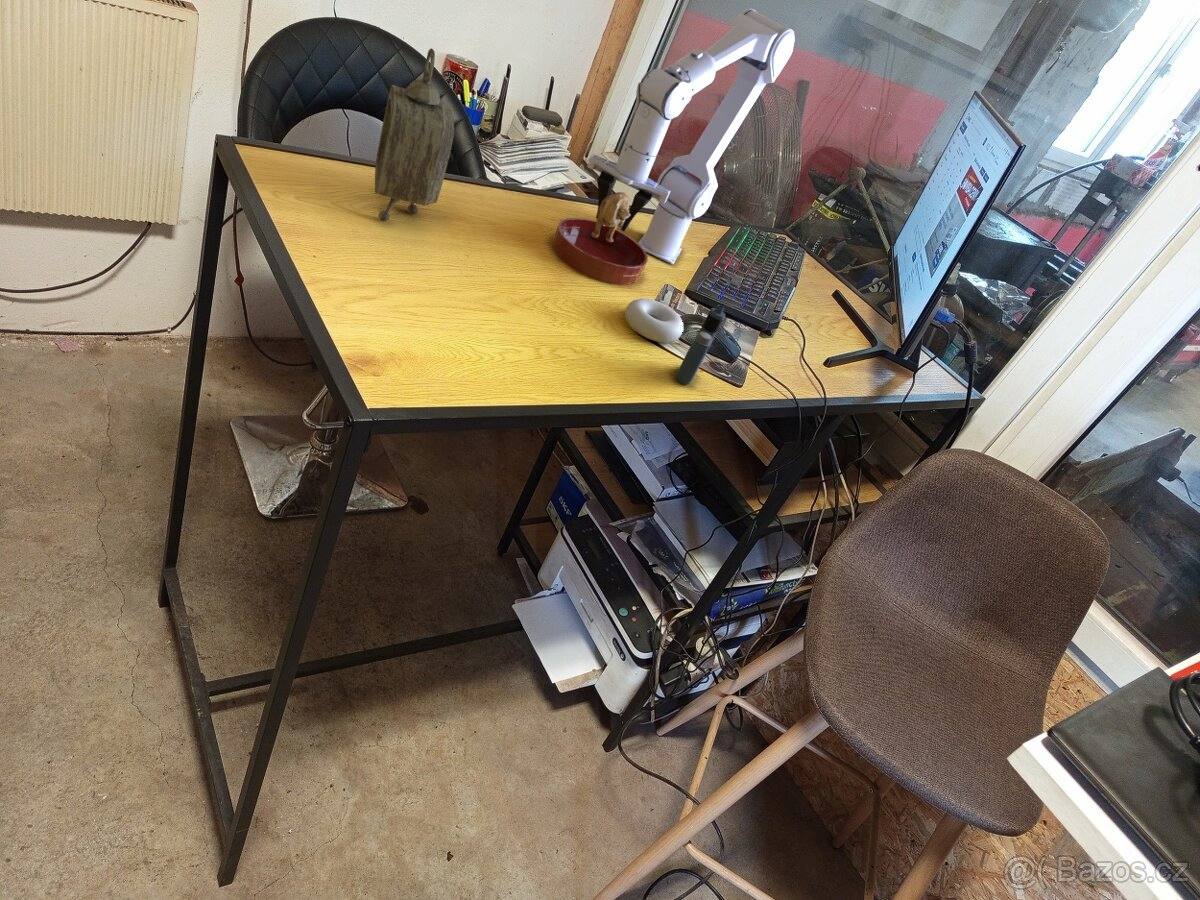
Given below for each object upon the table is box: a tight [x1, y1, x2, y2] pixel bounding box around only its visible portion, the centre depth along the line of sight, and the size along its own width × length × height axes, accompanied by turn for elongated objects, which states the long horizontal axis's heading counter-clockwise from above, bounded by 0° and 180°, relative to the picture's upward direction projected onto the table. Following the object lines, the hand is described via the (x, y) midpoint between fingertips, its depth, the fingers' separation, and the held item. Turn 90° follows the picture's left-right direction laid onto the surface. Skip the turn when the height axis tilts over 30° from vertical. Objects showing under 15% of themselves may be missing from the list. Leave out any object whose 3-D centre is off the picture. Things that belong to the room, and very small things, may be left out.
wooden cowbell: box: [374, 48, 455, 222], centre depth 118 cm, size 14×9×25 cm, turn 14°
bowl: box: [551, 217, 649, 286], centre depth 138 cm, size 17×17×4 cm
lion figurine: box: [591, 191, 631, 242], centre depth 134 cm, size 15×5×9 cm, turn 173°
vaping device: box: [675, 304, 726, 386], centre depth 114 cm, size 3×5×12 cm, turn 161°
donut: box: [624, 298, 684, 344], centre depth 125 cm, size 10×4×10 cm
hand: (611, 223), depth 135 cm, fingers closed on lion figurine, 4 cm apart
